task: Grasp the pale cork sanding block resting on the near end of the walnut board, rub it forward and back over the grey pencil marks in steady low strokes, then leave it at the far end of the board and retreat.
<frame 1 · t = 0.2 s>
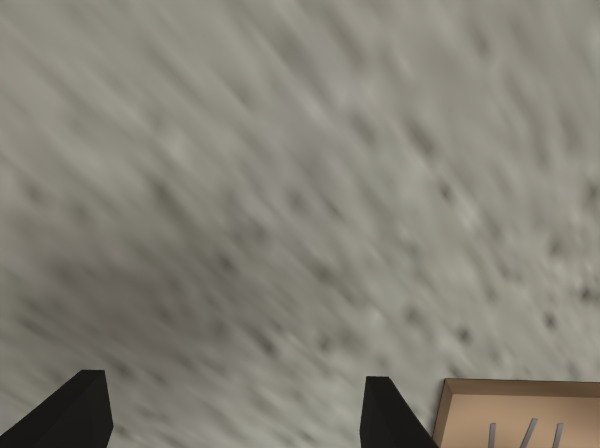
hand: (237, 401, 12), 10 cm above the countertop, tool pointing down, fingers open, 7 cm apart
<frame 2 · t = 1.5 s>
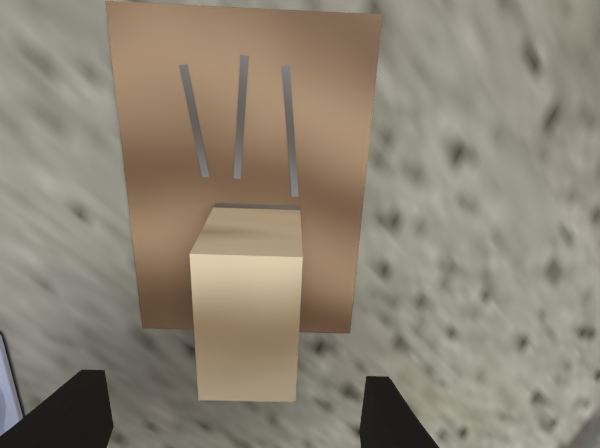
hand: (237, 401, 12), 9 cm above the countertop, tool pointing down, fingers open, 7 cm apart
board: (248, 184, 19), on the countertop
sanding block: (257, 266, 19), point 1 cm above the countertop, touching board
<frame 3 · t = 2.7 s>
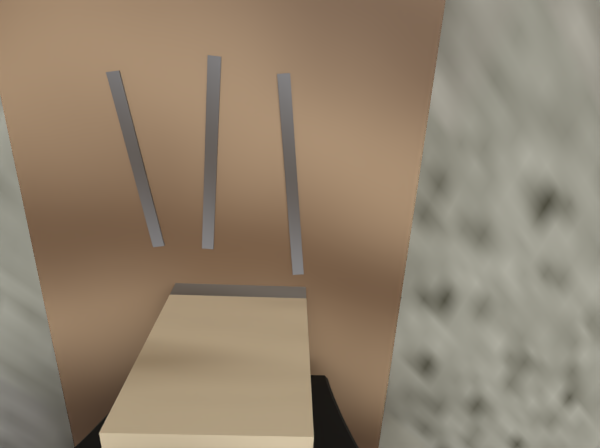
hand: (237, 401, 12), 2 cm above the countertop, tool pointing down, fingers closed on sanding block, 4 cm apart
board: (228, 249, 13), on the countertop
sanding block: (241, 371, 13), point 1 cm above the countertop, touching board, gripper
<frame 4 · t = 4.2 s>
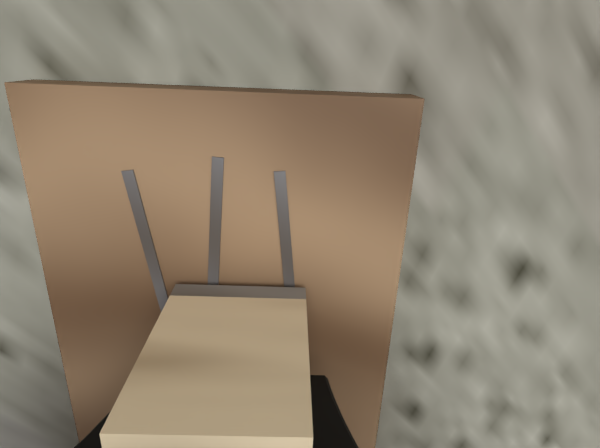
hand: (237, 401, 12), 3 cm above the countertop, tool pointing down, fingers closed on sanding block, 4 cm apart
board: (230, 311, 14), on the countertop
sanding block: (241, 371, 13), point 1 cm above the countertop, touching gripper
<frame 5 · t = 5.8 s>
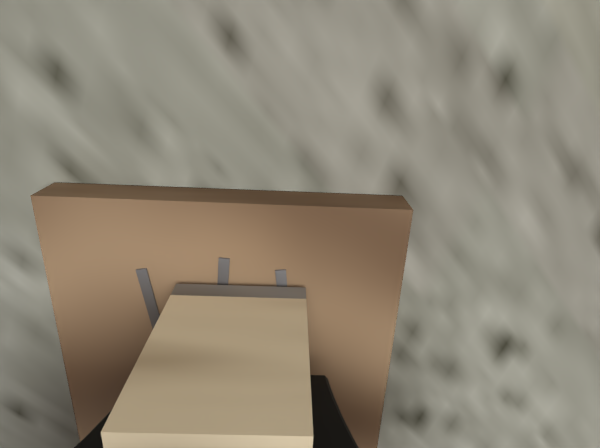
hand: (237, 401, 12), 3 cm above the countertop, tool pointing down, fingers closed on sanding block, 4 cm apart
board: (233, 380, 15), on the countertop
sanding block: (242, 371, 13), point 1 cm above the countertop, touching gripper
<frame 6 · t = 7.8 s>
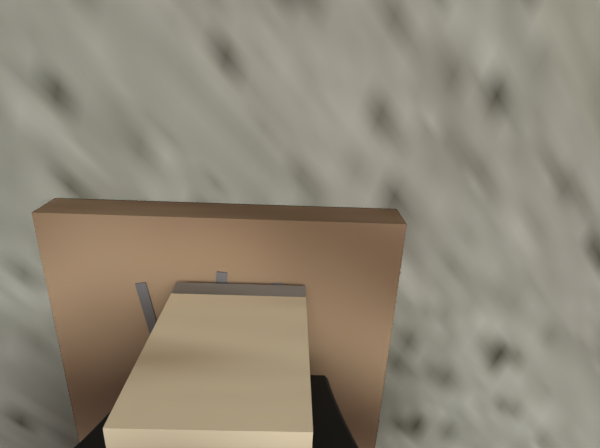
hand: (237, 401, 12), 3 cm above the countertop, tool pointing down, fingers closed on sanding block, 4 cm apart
board: (232, 390, 15), on the countertop
sanding block: (242, 369, 13), point 1 cm above the countertop, touching gripper
when the fingers open (3 cm above the countertop, at t = 9.2 s): sanding block stays where it is, resting on board.
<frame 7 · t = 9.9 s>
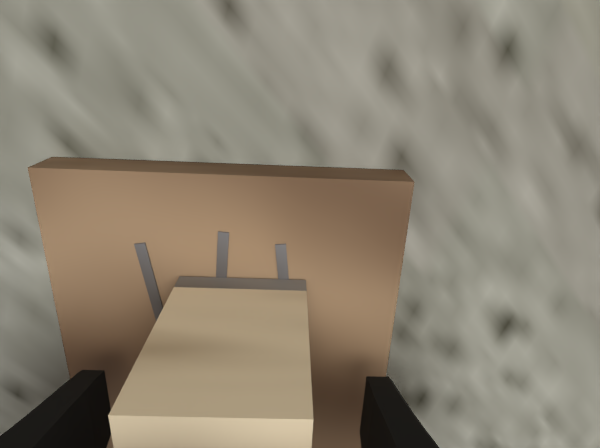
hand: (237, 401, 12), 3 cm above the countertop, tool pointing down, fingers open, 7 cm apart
board: (233, 361, 15), on the countertop
sanding block: (243, 362, 13), point 1 cm above the countertop, touching board
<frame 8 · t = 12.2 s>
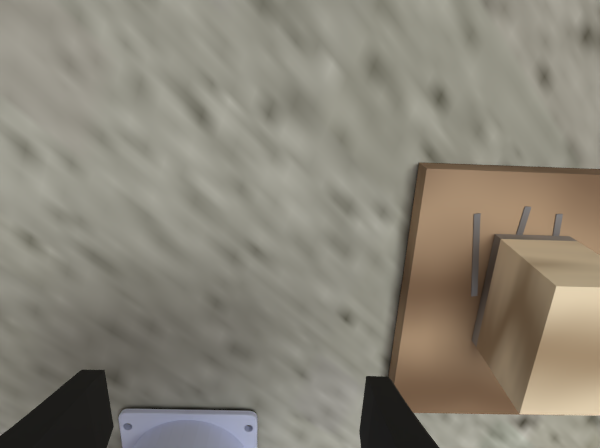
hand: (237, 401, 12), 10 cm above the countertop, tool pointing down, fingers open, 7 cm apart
board: (493, 294, 23), on the countertop
sanding block: (518, 290, 21), point 1 cm above the countertop, touching board
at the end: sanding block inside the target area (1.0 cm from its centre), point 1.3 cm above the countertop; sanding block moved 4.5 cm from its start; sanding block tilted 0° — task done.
